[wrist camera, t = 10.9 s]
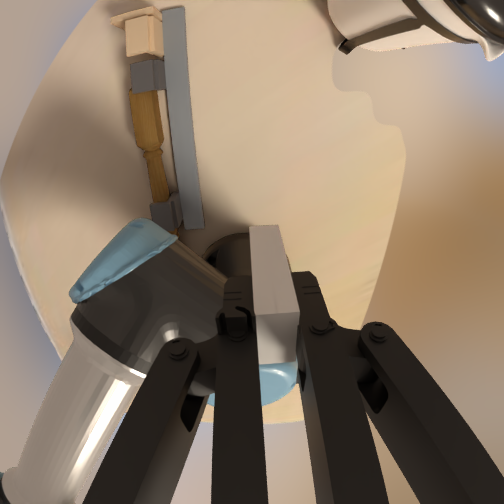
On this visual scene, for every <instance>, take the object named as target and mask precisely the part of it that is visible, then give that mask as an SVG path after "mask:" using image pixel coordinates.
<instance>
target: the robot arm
mask: <svg viewBox="0 0 504 504" xmlns="http://www.w3.org/2000/svg"><path fill="white" fill-rule="evenodd" d="M249 231H250V233H239V234H233V235H229V236H226V237H224V238H222V239H220V240H218V241H217V242H215V243H214V244H212V245H211V246H210V247H209V248H208V249H207V251H206V252H205V254H204V255H203V257H202V258H201V257H200V256H199V255H197V254H196V253H195V252H193V251H192V250H191V249H190V248H188V247H187V246H186V245H184V244H183V243H182V242H181V241H179V240H178V239H177V238H178V237H177V236H176V235H172V234H170V233H169V232H167V231H166V230H164V229H163V228H161V227H160V226H159V225H157V224H156V223H154V222H153V221H151V220H150V219H147V218H137V219H134V220H132V221H131V222H129V223H128V224H127V225H126V226H125V227H124V228H123V229H122V230H121V231H120V232H119V233H118V234H117V235H116V236H115V237H114V238H113V239H112V240H111V241H110V242H109V243H108V244H107V246H106V247H105V248H104V249H103V250H102V251H101V252H100V253H99V254H98V256H97V257H96V258H95V259H94V260H93V261H92V263H91V264H90V265H89V266H88V267H87V269H86V270H85V271H84V272H83V274H82V275H81V276H80V278H79V279H78V280H77V282H76V283H75V284H74V285H73V286H72V288H71V289H70V291H69V296H70V297H71V299H72V302H73V303H75V304H77V306H76V308H75V310H74V311H73V313H72V315H71V317H70V324H71V328H72V332H73V335H74V340H73V342H72V344H71V346H70V348H69V349H68V351H67V353H66V355H65V357H64V359H63V361H62V363H61V365H60V367H59V369H58V371H57V373H56V375H55V377H54V379H53V381H52V383H51V385H50V387H49V389H48V392H47V394H46V396H45V398H44V400H43V402H42V405H41V407H40V409H39V412H38V414H37V416H36V419H35V421H34V424H33V426H32V429H31V431H30V434H29V436H28V438H27V441H26V444H25V447H24V449H23V452H22V455H21V458H20V461H19V464H18V467H13V468H10V469H8V470H7V471H6V472H5V473H1V472H0V504H75V500H76V498H77V497H78V495H79V493H80V491H81V489H82V487H83V485H84V484H85V482H86V480H87V478H88V476H89V475H90V473H91V471H92V469H93V467H94V465H95V464H96V462H97V460H98V458H99V457H100V455H101V453H102V451H103V449H104V448H105V446H106V444H107V442H108V441H109V439H110V437H111V435H112V434H113V432H114V430H115V428H116V427H117V425H118V423H119V421H120V420H121V418H122V416H123V415H124V413H125V411H126V409H127V408H128V406H129V404H130V403H131V401H132V399H133V397H134V396H135V394H136V392H137V391H138V392H137V394H136V396H135V398H134V400H133V402H132V404H131V406H130V408H129V410H128V412H127V413H126V415H125V417H124V419H123V421H122V423H121V425H120V427H119V429H118V431H117V433H116V435H115V437H114V439H113V441H112V443H111V445H110V447H109V449H108V451H107V453H106V455H105V457H104V459H103V461H102V463H101V465H100V468H99V470H98V472H97V474H96V476H95V478H94V480H93V482H92V484H91V486H90V489H89V491H88V493H87V495H86V497H85V499H84V501H83V503H82V504H170V503H171V500H172V497H173V494H174V492H175V489H176V486H177V484H178V481H179V478H180V476H181V473H182V470H183V467H184V465H185V461H186V459H187V457H188V454H189V451H190V448H191V446H192V443H193V440H194V437H195V435H196V432H197V429H198V426H199V424H200V421H201V418H202V415H203V413H204V410H205V407H206V404H209V405H212V406H214V423H213V449H212V486H211V487H212V488H211V504H268V491H267V476H266V461H265V447H264V433H263V417H262V406H264V405H267V404H270V403H273V402H275V401H277V400H279V399H281V398H282V397H284V396H285V395H287V394H288V393H289V392H290V391H291V390H292V389H293V387H294V386H295V384H297V383H299V387H300V394H301V400H302V406H303V412H304V419H305V425H306V432H307V439H308V445H309V452H310V459H311V466H312V473H313V481H314V487H315V495H316V503H317V504H389V501H388V496H387V492H386V488H385V483H384V479H383V475H382V471H381V467H380V463H379V459H378V455H377V452H376V447H375V444H374V440H373V436H372V432H371V429H370V425H369V422H368V418H367V415H366V413H367V414H368V416H369V418H370V419H371V421H372V423H373V424H374V426H375V428H376V429H377V431H378V433H379V434H380V436H381V438H382V439H383V441H384V443H385V444H386V446H387V448H388V449H389V451H390V453H391V454H392V456H393V458H394V459H395V461H396V463H397V464H398V466H399V468H400V470H401V471H402V473H403V475H404V476H405V478H406V480H407V481H408V483H409V485H410V487H411V488H412V490H413V492H414V493H415V495H416V497H417V499H418V500H419V502H420V504H504V477H503V476H502V474H501V473H500V471H499V469H498V468H497V466H496V465H495V463H494V462H493V460H492V459H491V458H490V456H489V454H488V453H487V451H486V450H485V448H484V447H483V445H482V444H481V442H480V441H479V440H478V439H477V437H476V435H475V434H474V433H473V431H472V430H471V429H470V427H469V425H468V424H467V423H466V421H465V420H464V419H463V417H462V416H461V415H460V413H459V412H458V410H457V409H456V408H455V407H454V405H453V404H452V403H451V401H450V400H449V399H448V397H447V396H446V395H445V393H444V392H443V391H442V389H441V388H440V387H439V385H438V384H437V383H436V382H435V380H434V379H433V378H432V376H431V375H430V374H429V373H428V372H427V370H426V369H425V368H424V366H423V365H422V364H421V363H420V362H419V360H418V359H417V358H416V357H415V355H414V354H413V353H412V352H411V351H410V349H409V348H408V347H407V346H406V345H405V343H404V342H403V341H402V340H401V338H400V337H399V336H398V335H397V334H396V332H395V331H394V330H393V329H392V328H391V327H389V326H388V325H386V324H384V323H382V322H370V323H367V324H366V325H364V326H363V328H362V329H361V330H353V329H347V328H343V327H341V326H338V324H337V323H336V321H335V320H333V319H332V318H330V316H329V313H328V310H327V307H326V304H325V301H324V298H323V295H322V293H321V290H320V287H319V284H318V281H317V278H316V277H315V276H314V275H313V274H312V273H311V272H310V271H305V272H292V271H291V267H290V263H289V260H288V257H287V255H286V253H285V249H284V245H283V241H282V237H281V233H280V229H279V226H278V225H263V226H249ZM140 386H141V387H140ZM139 387H140V389H139ZM138 389H139V390H138Z"/></svg>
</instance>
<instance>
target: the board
mask: <svg viewBox="0 0 504 504" xmlns="http://www.w3.org/2000/svg"><path fill="white" fill-rule="evenodd" d="M161 21H162V22H161ZM111 24H112V25H114V26H117V27H119V28H121V29H123V30H125V31H126V53H127V56H128V57H131V56H135V55H139V54H143V53H149V54H152V55H154V56H157V57H160V56H164V61H161V60H158V59H156V60H152V59H151V60H146V61H142V62H137V63H133V64H130V70H131V82H132V93H133V94H137V93H141V92H146V91H151V90H166V89H167V99H168V109H169V119H170V128H171V137H172V145H173V153H174V160H175V168H176V175H177V182H178V189H179V191H176V192H173V193H172V195H171V196H170V198H169V199H168V201H167V202H159V203H151V204H150V211H151V216H152V221H153V222H154V223H156V224H157V225H159V226H160V227H161V228H163V229H164V230H166V231H174V230H175V228H179V226H180V224H181V221H182V219H183V220H184V226H185V230H189V229H202V228H205V224H204V216H203V209H202V201H201V193H200V185H199V177H198V168H197V159H196V150H195V140H194V131H193V120H192V109H191V98H190V86H189V73H188V58H187V42H186V23H185V8H184V7H180V8H175V9H169V10H164V11H162V13H160V12H159V11H158V10H157V9H156V8H155V7H154V6H150V7H146V8H142V9H138V10H134V11H131V12H127V13H124V14H120V15H117V16H114V17H111Z"/></svg>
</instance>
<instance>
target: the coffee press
mask: <svg viewBox="0 0 504 504" xmlns="http://www.w3.org/2000/svg"><path fill="white" fill-rule="evenodd" d="M328 11H329V15H330V17H331V20H332V22H333V23H334V25H335V26H336V28H337V29H338V30H339V32H340V33H341V34H342V35H343V36H344V37H346V39H345V40H344V41H343V42H342V43H341V45H340V46H339V48H338V49H339V50H340V51H342V52H343V53H345V54H346V55H347V54H348V53H350V52H351V51H352V50H353V49H354V48H355V47H357V46H360V47H362V48H365V49H368V50H372V51H389V50H395V49H400V48H402V49H405V48H407V47H414V46H421V45H428V44H437V43H448V42H458V43H464V44H471V43H479V44H480V45H481V47H482V49H483V51H484V54H485V58H486V60H488V61H491V60H494V59H496V58H497V57H498V56H500V55H501V54H502V53H504V0H328Z"/></svg>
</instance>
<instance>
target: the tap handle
mask: <svg viewBox="0 0 504 504" xmlns="http://www.w3.org/2000/svg"><path fill="white" fill-rule="evenodd" d="M129 99H130V106H131V113H132V119H133V125H134V131H135V137H136V143H137V146H138V147H140V148H142V150H145V152H144V155H143V157H144V158H146V160H147V166H148V172H149V179H150V185H151V190H152V196H153V202H154V203H159V202H167V201H168V199H169V198H170V194H169V190H168V185H167V181H166V177H165V172H164V168H163V163H162V158H161V154H162V153H163V151H162V150H161V149H160V146H161V145H162V144H161V143H163V141H164V136H163V130H162V123H161V116H160V109H159V102H158V94H157V90H151V91H146V92H141V93H137V94H133V93H132V88H131V89H130V91H129ZM177 231H178V228H175V230H174V231H167V232H169V233H170V234H172V235H176V236H177V237H178V238H179V236H180V235H179V233H178V232H177ZM178 238H177V239H178Z"/></svg>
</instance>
